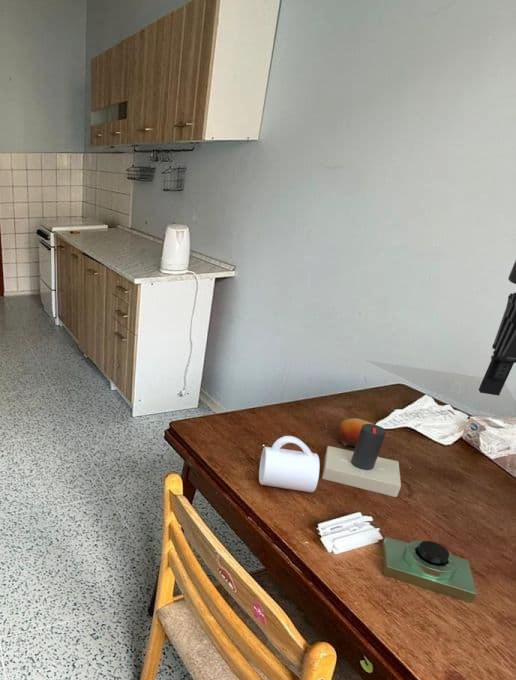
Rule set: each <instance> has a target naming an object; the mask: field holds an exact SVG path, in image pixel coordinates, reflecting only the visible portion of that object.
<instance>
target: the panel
mask: <svg viewBox="0 0 516 680" xmlns="http://www.w3.org/2000/svg"><path fill="white" fill-rule="evenodd" d="M325 451H326V452H325V455H324V459H323V460H324V461H323V468H322V475H321V479H322V480H324V481H330V482H332V483H338V484H341V485H345V486H348V487H349V486H350V487H353V488H357V489H360V490H361V489H362V490H365V491H368V492H369V491H370V492H373V493H377V494H381V495H386V496H389V497H393V498H397V497H398V496H399V493H400V490H401V487H402V483H401V471H400V464H399V461H398V460H394V459H389V458H386V457H385V458H384V457H380V456H378V457H377V460H376V463H375V466H374V468H373V469H371V470H363V469H359V468H357V467H355V466H353V465H352V463H351V459H352V456H353V453H354V450H349V449H344V448H339V447H335V446H331V445H327V447H326V450H325Z"/></svg>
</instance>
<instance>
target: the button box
mask: <svg viewBox="0 0 516 680" xmlns="http://www.w3.org/2000/svg"><path fill="white" fill-rule="evenodd" d="M423 541H424V540H411V541H410V542H406V541H404V540H403V541H402V540H399V539H395V538H392V537H388V536H385V537H384V539H383V542H382V545H381V551H382V553H381V554H382V574H383V575H382V576H383V577H386V578H390V579H393V580H395V581H400V582H403V583H405V584H409V585H412V586H414V587H419V588H421V589H425V590H428V591H430V592H434V593H437V594H439V595H440V594H441V595H443V596H447V597H450V598H453V599H456V600H460V601H463V602H466V603H469V604H472V603H473V602H474V600H475V598H476V597H477V595H478V593H477V590H476V585H475V581H474V576H473V573H472V570H471V569H472V568H471V566H470V561H469V559H467V558H462V557H459V556H455V555H453V554H452V553H451V552H450V551H449V550H448V552H449V557H448V559H447V561H446V563H445V565H443V566H436V565H432V564H429V563H427V562H426V561H424V560H422V559H420V558H419V556H418V555H417V549H418V547H419V545H420V543H421V542H423Z"/></svg>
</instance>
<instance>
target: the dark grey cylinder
mask: <svg viewBox="0 0 516 680" xmlns="http://www.w3.org/2000/svg"><path fill="white" fill-rule="evenodd" d="M386 434H387V430H386V429H385V428H384V427H383V426H379V425H377V424H374V423H373V424H364V425H363V426H362V428H361V431H360V434H359V437H358V440H357V443H356V447H354V450H353V451H354V453H353V456H352V459H351V463H352V465H353V466H355V467H357V468H359V469H363V470H371V469H373V468H374V466H375V463H376V460H377V457H379V454H380V451H381V448H382V445H383V442H384V439H385V437H386Z"/></svg>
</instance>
